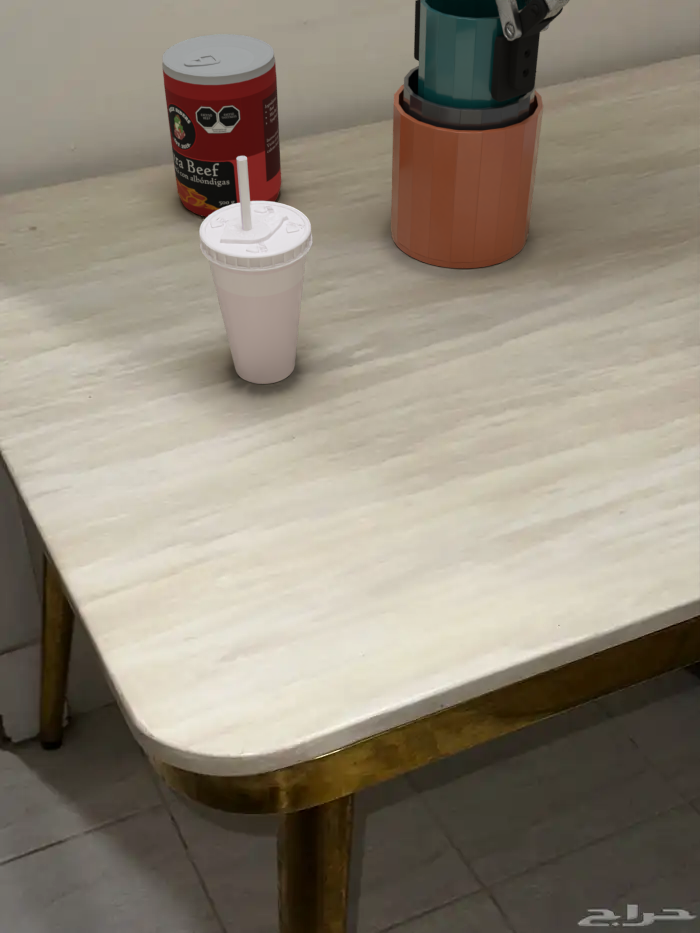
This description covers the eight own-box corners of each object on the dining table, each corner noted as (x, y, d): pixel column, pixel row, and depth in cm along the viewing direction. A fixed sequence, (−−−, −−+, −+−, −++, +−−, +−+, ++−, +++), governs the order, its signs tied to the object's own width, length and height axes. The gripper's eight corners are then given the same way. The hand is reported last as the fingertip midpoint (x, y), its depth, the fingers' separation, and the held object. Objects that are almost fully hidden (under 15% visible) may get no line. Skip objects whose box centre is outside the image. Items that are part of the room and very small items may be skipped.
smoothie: (193, 362, 69) (166, 152, 60) (275, 324, 72) (262, 118, 63) (254, 411, 65) (236, 196, 56) (337, 369, 68) (334, 158, 59)
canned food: (158, 195, 85) (139, 52, 78) (241, 162, 89) (230, 24, 82) (218, 232, 81) (204, 85, 73) (302, 197, 85) (297, 54, 77)
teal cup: (498, 100, 78) (508, -25, 73) (537, 143, 73) (550, 12, 68) (403, 112, 77) (406, -14, 71) (436, 157, 72) (442, 25, 66)
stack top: (493, 197, 84) (506, 51, 77) (536, 253, 78) (555, 101, 71) (385, 212, 83) (387, 64, 75) (421, 271, 77) (427, 117, 69)
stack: (498, 192, 85) (509, 63, 78) (548, 257, 78) (566, 121, 71) (374, 209, 83) (375, 79, 76) (415, 277, 76) (420, 141, 69)
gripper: (657, -225, 57) (608, 105, 69) (445, -269, 68) (434, 24, 80) (550, -205, 54) (518, 138, 66) (345, -255, 65) (349, 48, 77)
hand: (472, 73), depth 73 cm, fingers closed on teal cup, 7 cm apart
